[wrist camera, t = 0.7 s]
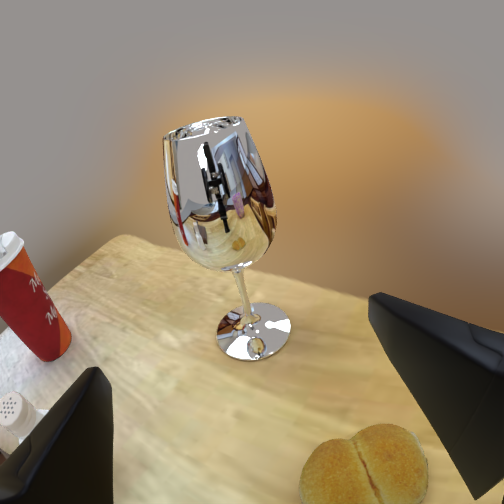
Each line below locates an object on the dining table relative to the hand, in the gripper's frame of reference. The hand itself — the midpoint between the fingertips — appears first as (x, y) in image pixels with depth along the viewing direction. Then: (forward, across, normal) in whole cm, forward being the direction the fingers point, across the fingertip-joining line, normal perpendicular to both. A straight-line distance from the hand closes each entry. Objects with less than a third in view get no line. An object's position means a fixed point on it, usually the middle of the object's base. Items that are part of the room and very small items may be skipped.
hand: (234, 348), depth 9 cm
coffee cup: (+22, +25, +13) cm, 36 cm away
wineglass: (+17, -1, +14) cm, 22 cm away
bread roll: (0, -5, +17) cm, 18 cm away
